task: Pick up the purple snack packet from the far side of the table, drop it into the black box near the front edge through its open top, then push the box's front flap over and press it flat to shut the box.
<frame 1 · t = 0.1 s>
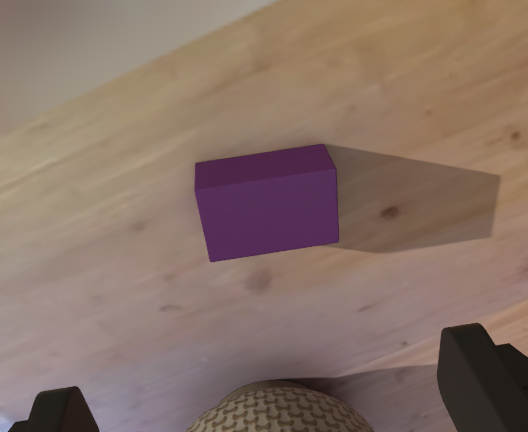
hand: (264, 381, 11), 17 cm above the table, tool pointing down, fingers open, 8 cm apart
packet: (264, 189, 28), on the table
planter: (268, 413, 39), on the table
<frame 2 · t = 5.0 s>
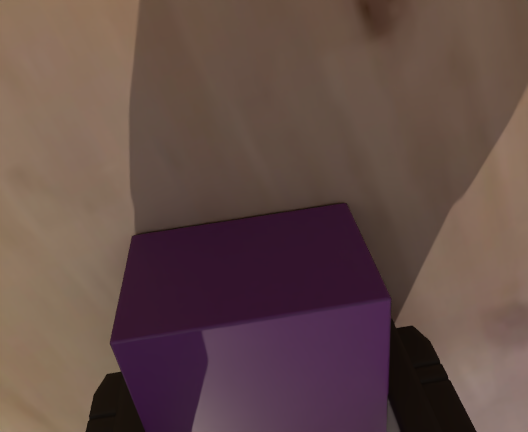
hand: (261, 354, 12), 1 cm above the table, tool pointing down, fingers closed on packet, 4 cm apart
packet: (259, 337, 12), on the table, touching gripper
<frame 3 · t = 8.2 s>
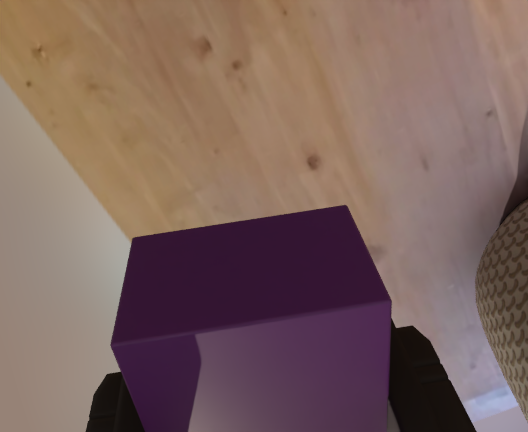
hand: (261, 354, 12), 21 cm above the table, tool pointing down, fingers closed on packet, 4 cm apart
packet: (260, 338, 12), point 20 cm above the table, touching gripper
when the fingers open (14 cm above the table, at t = 11.6 s): packet drops 13 cm, resting on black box.
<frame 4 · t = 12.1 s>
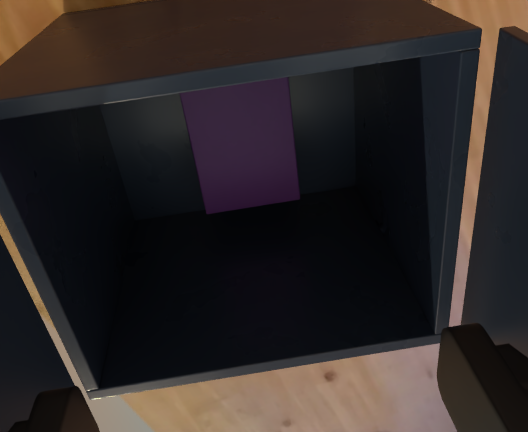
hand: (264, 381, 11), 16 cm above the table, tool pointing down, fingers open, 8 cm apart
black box: (231, 111, 25), on the table
packet: (238, 114, 24), resting on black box
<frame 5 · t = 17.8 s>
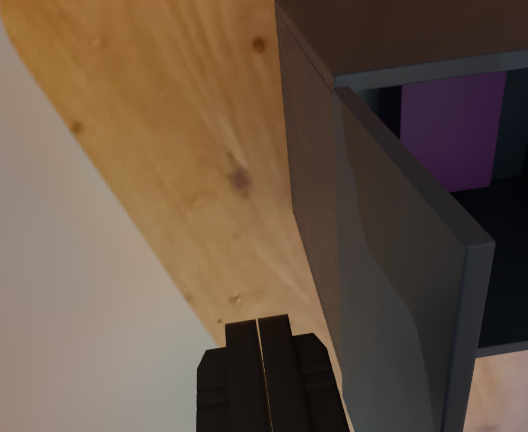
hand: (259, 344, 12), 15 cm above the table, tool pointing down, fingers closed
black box: (414, 99, 25), on the table
packet: (424, 101, 25), resting on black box
chute flap: (383, 355, 12), point 15 cm above the table, hinge at 87.7°, touching gripper
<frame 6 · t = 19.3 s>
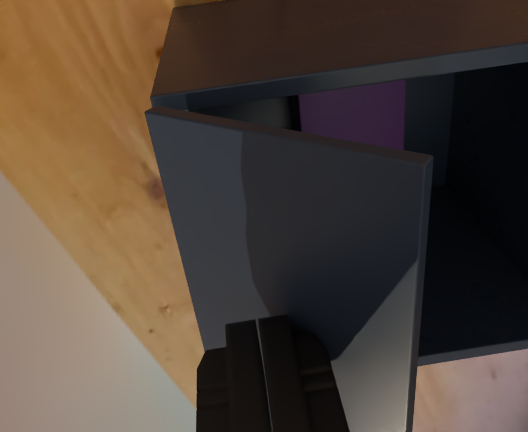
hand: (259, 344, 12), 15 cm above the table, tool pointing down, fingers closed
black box: (328, 108, 25), on the table
packet: (337, 110, 24), resting on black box
chute flap: (288, 334, 12), point 14 cm above the table, hinge at 41.9°, touching gripper
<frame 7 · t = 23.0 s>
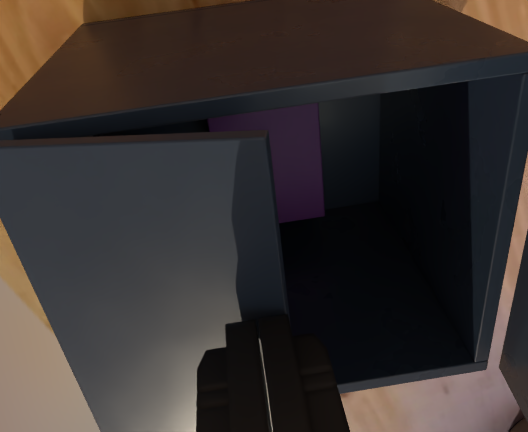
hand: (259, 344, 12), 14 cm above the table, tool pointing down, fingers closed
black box: (253, 124, 24), on the table
packet: (261, 127, 24), resting on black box
chute flap: (168, 332, 13), point 13 cm above the table, hinge at 15.1°, touching gripper
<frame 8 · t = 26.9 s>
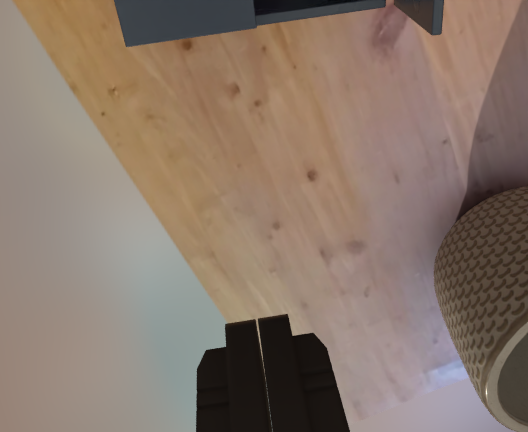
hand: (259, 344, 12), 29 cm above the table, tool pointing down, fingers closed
planter: (492, 232, 49), on the table
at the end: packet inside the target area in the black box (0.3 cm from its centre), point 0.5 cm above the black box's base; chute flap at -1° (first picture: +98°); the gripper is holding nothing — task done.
